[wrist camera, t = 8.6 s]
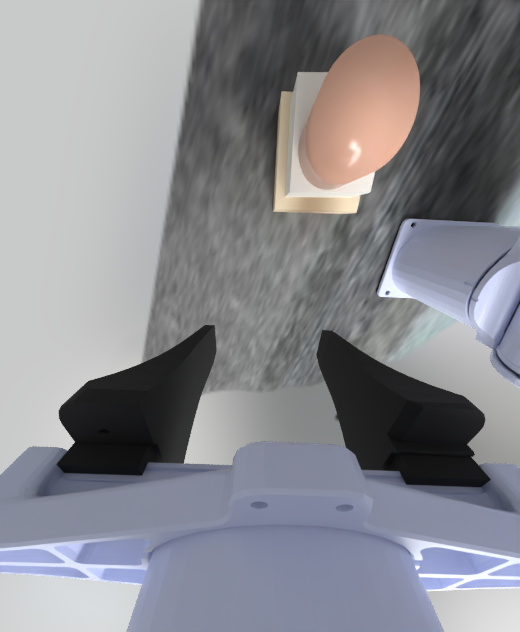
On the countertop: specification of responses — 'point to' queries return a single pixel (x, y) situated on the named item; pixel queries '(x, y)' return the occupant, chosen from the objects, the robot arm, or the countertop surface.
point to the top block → (299, 112)
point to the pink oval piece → (360, 112)
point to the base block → (280, 201)
